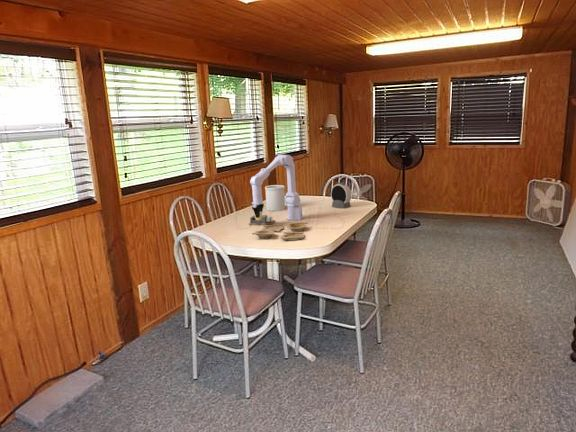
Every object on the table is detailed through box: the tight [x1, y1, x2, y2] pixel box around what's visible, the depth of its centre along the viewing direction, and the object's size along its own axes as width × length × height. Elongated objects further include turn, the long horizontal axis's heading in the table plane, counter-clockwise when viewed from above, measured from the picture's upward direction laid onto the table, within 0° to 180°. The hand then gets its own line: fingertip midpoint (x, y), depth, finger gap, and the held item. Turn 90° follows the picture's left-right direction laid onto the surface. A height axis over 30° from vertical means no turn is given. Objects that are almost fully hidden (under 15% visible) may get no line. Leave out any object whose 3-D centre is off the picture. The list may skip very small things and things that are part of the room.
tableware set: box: [251, 221, 308, 241], centre depth 249 cm, size 35×29×4 cm
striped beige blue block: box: [265, 216, 274, 222], centre depth 274 cm, size 7×3×3 cm, turn 77°
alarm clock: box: [330, 182, 352, 209], centre depth 314 cm, size 16×10×18 cm, turn 42°
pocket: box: [249, 215, 261, 223], centre depth 275 cm, size 7×7×4 cm
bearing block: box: [261, 214, 268, 223], centre depth 274 cm, size 3×6×4 cm, turn 167°
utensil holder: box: [264, 184, 286, 212], centre depth 316 cm, size 15×15×18 cm
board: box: [248, 219, 276, 226], centre depth 275 cm, size 15×10×1 cm
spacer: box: [254, 211, 263, 220], centre depth 266 cm, size 3×4×4 cm
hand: (258, 216), depth 266 cm, fingers closed on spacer, 4 cm apart
